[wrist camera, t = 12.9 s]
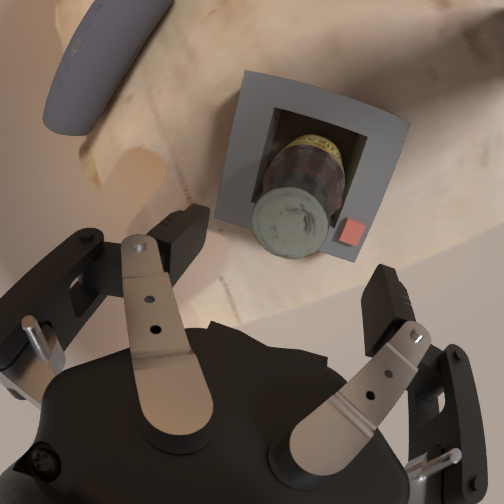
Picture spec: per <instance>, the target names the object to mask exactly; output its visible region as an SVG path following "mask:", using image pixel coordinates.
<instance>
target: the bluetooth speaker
mask: <svg viewBox="0 0 504 504" xmlns="http://www.w3.org/2000/svg"><path fill="white" fill-rule="evenodd" d="M172 2H173V0H95V1H94V2H93V4H92V5H91V7H90V8H89V10H88V11H87V13H86V14H85V16H84V18H83V19H82V21H81V22H80V24H79V26H78V28H77V29H76V31H75V33H74V35H73V37H72V39H71V40H70V42H69V44H68V46H67V48H66V51H65V53H64V55H63V57H62V60H61V62H60V64H59V67H58V69H57V71H56V74H55V77H54V80H53V82H52V85H51V88H50V91H49V94H48V97H47V100H46V104H45V108H44V113H43V122H44V124H45V126H46V127H47V128H48V129H50V130H51V131H53V132H55V133H57V134H62V135H69V136H84V135H87V134H89V133H90V132H91V131H92V129H93V128H94V126H95V124H96V123H97V121H98V119H99V118H100V116H101V114H102V112H103V110H104V109H105V107H106V105H107V103H108V101H109V99H110V98H111V97H112V95H113V93H114V91H115V90H116V88H117V86H118V84H119V83H120V81H121V79H122V78H123V76H124V75H125V74H126V72H127V71H128V69H129V68H130V66H131V64H132V63H133V61H134V60H135V58H136V56H137V55H138V53H139V52H140V50H141V48H142V46H143V45H144V42H145V41H146V39H147V38H148V36H149V35H150V33H151V32H152V30H153V29H154V27H155V26H156V25H157V23H158V21H159V20H160V18H161V17H162V16H163V14H164V13H165V11H166V10H167V9H168V7H169V6H170V5H171V3H172Z"/></svg>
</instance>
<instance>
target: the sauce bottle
mask: <svg viewBox="0 0 504 504" xmlns="http://www.w3.org/2000/svg"><path fill="white" fill-rule="evenodd" d="M344 186H345V177H344V170H343V164H342V159H341V155H340V152H339V150H338V148H337V147H336V145H335V144H334V143H333V142H332V141H331V140H329V139H328V138H326V137H324V136H322V135H319V134H305V135H302V136H300V137H298V138H296V139H295V140H294V141H292V142H291V143H290V144H289V145H288V146H286V147H285V148H284V149H282V150H281V151H280V152H279V153H278V154H277V155H276V156H275V158H274V159H273V161H272V162H271V164H270V165H269V167H268V168H267V169H266V171H265V172H264V174H263V188H264V192H263V193H262V195H261V196H260V197H259V199H258V201H257V202H256V204H255V206H254V208H253V211H252V216H251V223H252V229H253V232H254V234H255V237H256V239H257V240H258V241H259V243H260V244H261V245H262V246H263V247H264V248H265V249H266V250H267V251H268V252H270V253H272V254H274V255H276V256H280V257H283V258H286V259H299V258H303V257H305V256H308V255H310V254H312V253H314V252H316V251H317V250H318V249H319V248H320V247H321V246H322V245H323V243H324V241H325V240H326V238H327V234H328V231H329V227H330V220H331V215H332V214H333V213H334V212H335V211H336V210H339V208H340V206H341V203H342V197H343V190H344Z"/></svg>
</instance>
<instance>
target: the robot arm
mask: <svg viewBox="0 0 504 504" xmlns="http://www.w3.org/2000/svg"><path fill="white" fill-rule="evenodd" d="M209 214H210V209H209V208H208V207H205V206H201V205H198V204H195V203H193V204H192V205H191V206H190V207H188V208H187V209H186V210H185V211H181V210H179V211H176V212H173V213H171V214H169V215H168V216H167V217H166V218H165V219H163V220H162V221H161V222H160V224H157V225H156V226H155V227H154V228H153V229H151V230H150V231H149V232H148V233H147V234H146V235H142V234H136V235H131V236H128V237H126V238H125V239H124V240H123V241H122V243H121V244H118V243H111V242H104V235H103V232H102V231H100V230H98V229H96V228H84V229H81V230H78V231H76V232H75V233H74V234H73V235H71V236H70V237H68V238H67V239H66V240H65V241H63V242H62V243H61V244H60V245H59V246H57V247H56V248H55V249H54V250H53V251H51V252H50V253H49V254H48V255H47V256H45V257H44V258H43V259H42V260H41V261H40V262H38V263H37V264H36V265H35V266H34V267H33V268H32V269H31V270H30V271H29V272H27V273H26V274H25V275H24V276H23V277H22V278H21V279H20V280H19V281H18V282H17V283H16V284H15V285H14V286H13V287H12V288H10V289H9V290H8V291H7V292H6V293H5V294H4V295H3V296H2V297H1V298H0V383H1V384H2V385H3V386H5V387H6V388H7V390H8V391H9V392H10V393H11V394H12V395H13V396H14V397H15V398H17V399H19V400H28V401H30V402H31V403H32V404H33V405H35V406H36V407H37V408H39V409H40V410H41V414H40V422H39V427H38V431H37V434H36V438H35V440H34V442H33V444H32V446H31V447H30V448H29V450H28V451H27V452H26V453H25V454H24V455H23V456H22V457H20V458H19V459H18V460H17V461H16V462H15V463H13V464H12V465H11V466H10V467H8V468H7V469H6V470H5V471H4V472H3V473H2V474H1V476H0V504H476V503H479V502H480V501H481V500H482V499H483V497H484V496H485V494H486V491H487V486H488V472H487V456H486V445H485V437H484V429H483V422H482V416H481V410H480V405H479V400H478V395H477V390H476V386H475V382H474V378H473V373H472V370H471V366H470V362H469V359H468V356H467V355H466V353H465V352H464V351H463V349H461V348H460V347H459V346H457V345H455V344H450V345H448V346H447V347H446V348H445V350H444V351H442V350H440V349H439V348H437V347H435V346H433V345H432V344H431V336H430V334H429V332H428V331H427V330H426V329H425V328H424V327H423V326H422V325H421V324H419V323H417V322H416V319H415V316H414V312H413V309H412V306H411V302H410V300H409V296H408V293H407V290H406V288H405V287H404V286H403V284H402V283H401V282H399V280H398V277H397V274H396V271H395V269H394V268H391V267H388V266H386V265H383V264H379V265H378V266H377V268H376V269H375V271H374V273H373V275H372V277H371V279H370V280H369V282H368V284H367V286H366V288H365V290H364V292H363V295H362V298H361V307H362V317H363V329H364V341H365V356H368V357H372V359H371V360H370V361H369V362H368V363H367V364H366V365H365V366H364V367H363V368H362V369H361V370H360V371H359V372H358V373H357V374H356V375H355V376H354V377H353V378H352V379H351V380H350V381H349V382H347V381H346V380H345V379H344V378H343V377H342V376H341V375H339V374H338V373H337V372H336V371H334V370H332V369H331V368H329V367H327V360H328V358H327V357H325V356H321V355H318V354H314V353H310V352H307V351H303V350H299V349H287V348H276V347H268V346H266V345H264V344H262V343H261V342H259V341H257V340H255V339H254V338H252V337H250V336H248V335H246V334H245V333H243V332H241V331H239V330H236V329H233V328H230V327H228V326H225V325H222V324H219V323H216V322H213V321H211V322H210V324H209V326H208V328H207V329H205V328H186V329H184V326H183V323H182V320H181V317H180V313H179V310H178V307H177V303H176V300H175V296H174V293H173V289H172V288H173V286H174V285H175V284H176V282H177V281H178V279H179V278H180V277H181V276H182V274H183V273H184V272H185V270H186V269H187V268H188V266H189V265H190V264H191V262H192V261H193V260H194V259H195V257H196V256H197V255H198V253H199V252H200V251H201V249H202V248H203V245H204V242H205V238H206V232H207V226H208V220H209ZM77 277H78V281H77V282H76V283H75V284H74V285H73V287H71V288H70V285H71V284H72V282H73V281H74V280H75V279H76V278H77ZM107 295H110V296H116V297H123V298H124V304H125V313H126V322H127V330H128V337H129V344H130V347H129V348H127V349H124V350H121V351H118V352H116V353H113V354H110V355H107V356H104V357H101V358H98V359H95V360H92V361H89V362H86V363H84V364H81V365H77V366H74V367H71V368H69V369H66V370H64V371H62V370H63V367H64V365H65V360H66V358H65V353H64V351H65V350H66V348H67V347H68V346H69V344H70V343H71V342H72V340H73V339H74V337H75V336H76V335H77V334H78V332H79V331H80V330H81V328H82V327H83V326H84V324H85V323H86V322H87V321H88V319H89V318H90V317H91V315H92V314H93V313H94V312H95V310H96V309H97V308H98V307H99V305H100V304H101V303H102V302H103V300H104V299H105V298H106V297H107ZM405 390H407V391H408V407H409V408H408V409H409V458H408V463H407V464H406V466H405V467H403V466H402V464H401V463H400V461H399V460H398V458H397V457H396V455H395V454H394V452H393V451H392V449H391V448H390V446H389V444H388V443H387V441H386V440H385V438H384V437H383V435H382V433H381V432H380V431H379V429H378V426H379V425H380V423H381V422H382V421H383V420H384V418H385V417H386V416H387V414H388V413H389V412H390V410H391V409H392V408H393V406H394V405H395V404H396V402H397V401H398V400H399V398H400V397H401V395H402V394H403V392H404V391H405ZM442 392H444V394H445V406H444V408H443V410H442V411H441V412H440V413H439V405H438V396H439V395H440V394H441V393H442Z"/></svg>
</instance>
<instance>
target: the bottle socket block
mask: <svg viewBox="0 0 504 504" xmlns="http://www.w3.org/2000/svg"><path fill="white" fill-rule="evenodd" d="M282 109H284V110H288V111H291V112H295V113H298V114H302V115H305V116H309V117H312V118H315V119H318V120H322V121H325V122H328V123H331V124H334V125H337V126H340V127H343V128H345V129H348V130H351V131H354V132H356V133H359V134H358V137H357V140H356V143H355V146H354V149H353V152H352V155H351V158H350V161H349V164H348V167H347V170H346V173H345V176H344V177H345V186H344V190H343V197H342V203H341V206H340V208H339V210H336V211H335V212H334V213H333V214H332V215H331V220H330V227H329V231H328V234H327V238H326V240H325V241H324V243H323V245H322V246H321V247H320V248H319V249H318V250H317V251H320V252H323V253H326V254H329V255H332V256H335V257H338V258H341V259H344V260H347V261H350V262H353V263H354V262H355V260H356V258H357V256H358V254H359V251H360V249H361V247H362V245H363V243H364V241H365V239H366V236H367V234H368V232H369V230H370V227H371V225H372V223H373V221H374V218H375V216H376V214H377V211H378V209H379V207H380V204H381V202H382V199H383V197H384V194H385V192H386V189H387V187H388V184H389V182H390V179H391V177H392V174H393V171H394V169H395V166H396V163H397V161H398V158H399V155H400V152H401V149H402V146H403V144H404V141H405V138H406V135H407V132H408V129H409V125H410V122H408V121H406V120H404V119H402V118H399V117H397V116H395V115H393V114H390V113H388V112H386V111H383V110H381V109H379V108H376V107H374V106H371V105H369V104H366V103H363V102H361V101H358V100H355V99H352V98H350V97H347V96H344V95H341V94H338V93H335V92H332V91H329V90H325V89H322V88H319V87H315V86H312V85H308V84H305V83H301V82H297V81H293V80H289V79H285V78H281V77H277V76H272V75H268V74H263V73H258V72H253V71H247V70H245V73H244V77H243V81H242V86H241V90H240V94H239V98H238V103H237V107H236V112H235V116H234V121H233V125H232V130H231V134H230V139H229V144H228V149H227V153H226V158H225V163H224V168H223V173H222V179H221V184H220V189H219V194H218V200H217V205H216V211H215V216H214V218H216V219H220V220H223V221H226V222H229V223H233V224H236V225H239V226H242V227H245V228H249V229H252V223H251V216H252V211H253V208H254V206H255V204H256V202H257V201H258V199H259V197H260V196H261V195H262V193H263V192H264V188H263V186H262V184H263V174H264V172H265V171H266V169H267V165H268V161H269V157H270V153H271V149H272V145H273V142H274V138H275V134H276V130H277V126H278V122H279V119H280V115H281V111H282ZM252 230H253V229H252Z"/></svg>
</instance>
